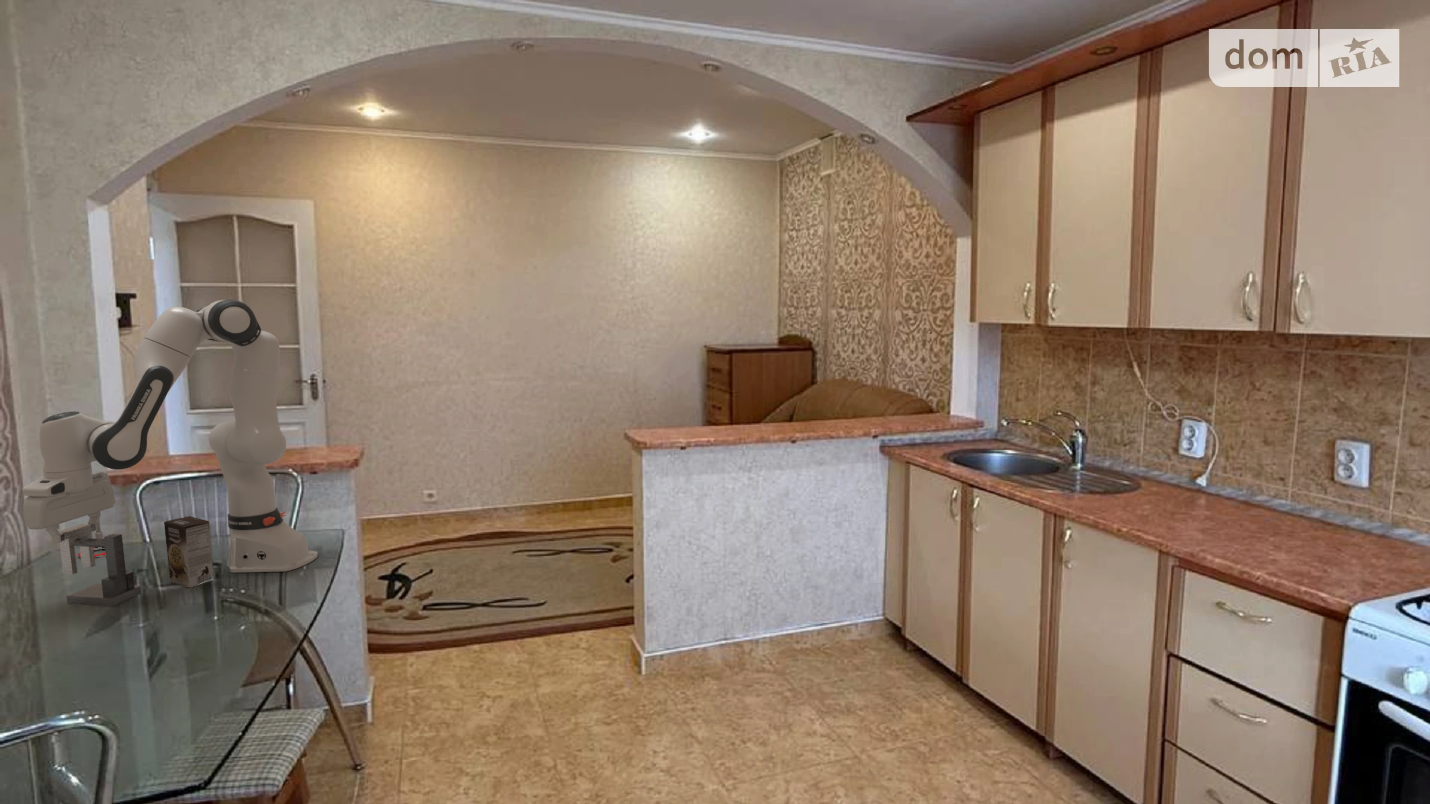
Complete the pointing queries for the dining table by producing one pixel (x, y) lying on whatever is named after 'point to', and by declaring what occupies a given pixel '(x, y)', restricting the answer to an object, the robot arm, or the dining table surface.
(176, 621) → the dining table surface
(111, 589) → the grey hook stand
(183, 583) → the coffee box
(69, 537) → the beige u-shaped piece
